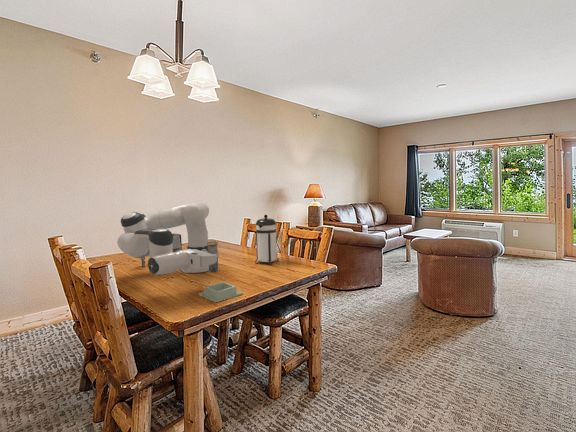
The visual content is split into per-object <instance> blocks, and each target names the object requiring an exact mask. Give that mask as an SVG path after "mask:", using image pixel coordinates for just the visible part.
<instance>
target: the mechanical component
mask: <svg viewBox="0 0 576 432" xmlns="http://www.w3.org/2000/svg"><path fill="white" fill-rule="evenodd" d="M146 257H150V249H149V251H148V252H147V253H146V254H145V255H143V256H141V257H135V259H140V260H141V267H142V268H145V266H146V262H145V260H146Z"/></svg>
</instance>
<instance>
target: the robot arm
mask: <svg viewBox="0 0 576 432" xmlns="http://www.w3.org/2000/svg"><path fill="white" fill-rule="evenodd" d="M209 213H210V208H209V206H208V204H207V203H205V202H202V201H195V202H192V203H186V204H182V205H178V206H174V207H173V206H172V207H169V208H164V209H160V210H156V211H154V212H151V213H148V214H146V215H145V214H144V213H140V212H136V211H135V212H133V211H132V212H128V213H126V214H124V215H123V216H122V217H121V218H120V224H121V226H122V227H123V231H124V233H122V234H121V235H119V237H118V238H117V246H118V248H119V249H120V251H122V252H123V253H124V254H126V255H128V256H129V257H133V258H136V257H141V256H143V255H145V254H146V253H147V252H148V251H149V249H150V255H149V258H148V260H147V268H148V271H149V272H150V274H152V275H154V276H155V275H157V276H159V275H166V274H171V273H175V272H177V271H181V272H183V274H189V273H190V274H191V273H192V274H193V273H194V274H195V273H205V272H209V265H212V264H215V263H216V262H217V257H218V258H219V256H220V255H219V253H214V254H211V253H208V245H207V242H209V231H208V229H207V225H206V218H207V217H208V216H209ZM184 225H185V227H186V232H187V244H188V245H187V246H186V248H185V249H182V250H180V251H177V252H173V234H174V233H173V232H172V231H171V230H169V229H172V228H176V227H180V226H184Z"/></svg>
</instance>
